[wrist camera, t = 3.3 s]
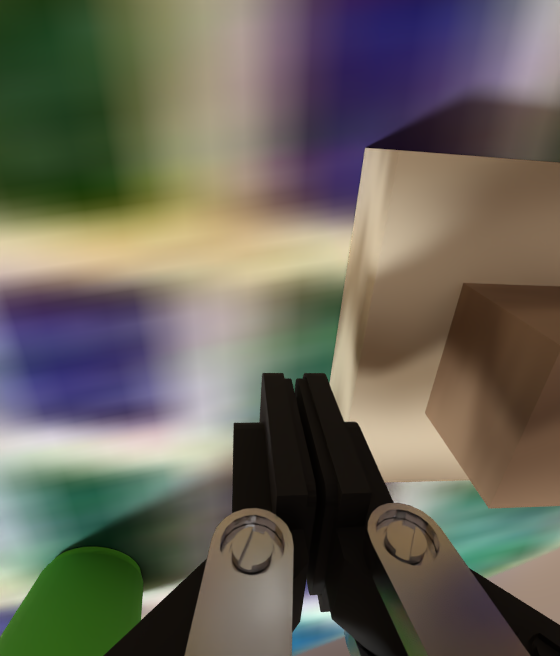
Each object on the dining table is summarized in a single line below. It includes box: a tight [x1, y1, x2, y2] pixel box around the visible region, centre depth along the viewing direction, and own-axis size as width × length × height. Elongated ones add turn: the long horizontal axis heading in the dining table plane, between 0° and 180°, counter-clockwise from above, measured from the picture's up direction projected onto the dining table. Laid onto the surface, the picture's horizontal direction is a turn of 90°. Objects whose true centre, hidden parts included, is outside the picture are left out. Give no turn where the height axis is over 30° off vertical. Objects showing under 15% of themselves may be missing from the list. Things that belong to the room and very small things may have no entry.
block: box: [425, 283, 560, 508], centre depth 11 cm, size 5×5×4 cm
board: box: [330, 148, 560, 482], centre depth 14 cm, size 12×13×3 cm
